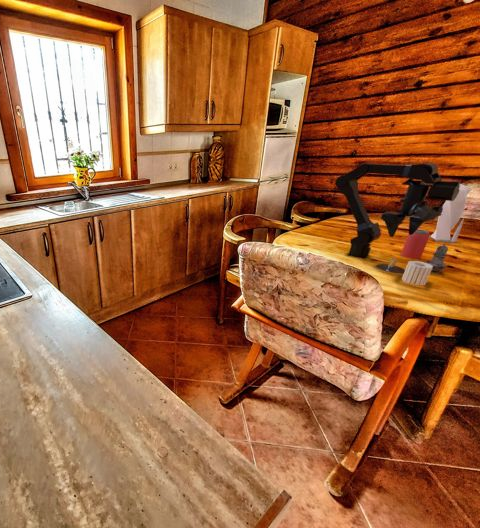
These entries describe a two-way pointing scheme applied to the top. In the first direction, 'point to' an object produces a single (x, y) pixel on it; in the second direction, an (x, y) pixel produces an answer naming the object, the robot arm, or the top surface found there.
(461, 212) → the skyscraper
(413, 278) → the grey ribbed cylinder
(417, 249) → the beer can
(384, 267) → the towel stand
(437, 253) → the dark grey tapered piece
